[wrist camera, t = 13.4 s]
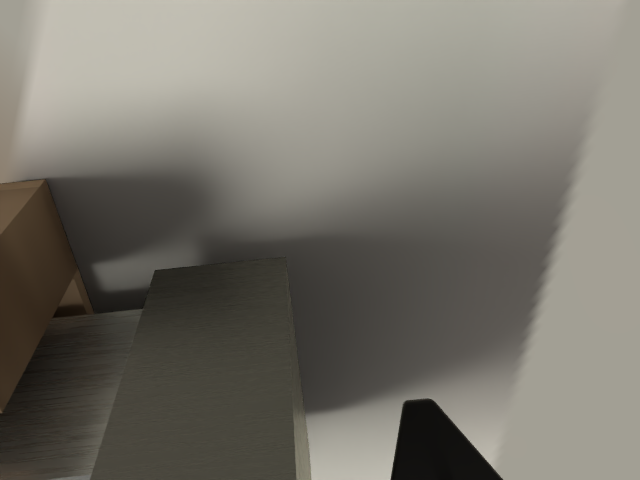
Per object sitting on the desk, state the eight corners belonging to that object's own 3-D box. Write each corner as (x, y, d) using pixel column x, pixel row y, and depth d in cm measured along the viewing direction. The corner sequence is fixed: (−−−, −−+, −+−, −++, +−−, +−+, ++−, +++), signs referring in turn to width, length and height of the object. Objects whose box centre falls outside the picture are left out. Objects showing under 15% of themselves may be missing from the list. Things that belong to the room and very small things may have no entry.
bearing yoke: (155, 482, 12) (125, 640, 9) (42, 495, 12) (-19, 657, 9) (45, 179, 8) (-57, 304, 6) (-120, 195, 8) (-301, 329, 6)
